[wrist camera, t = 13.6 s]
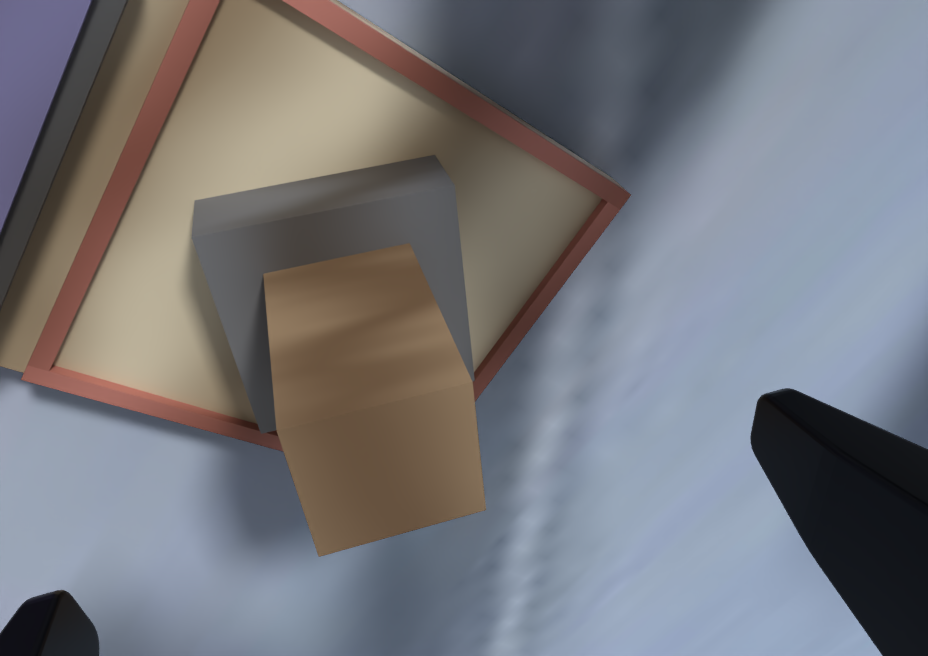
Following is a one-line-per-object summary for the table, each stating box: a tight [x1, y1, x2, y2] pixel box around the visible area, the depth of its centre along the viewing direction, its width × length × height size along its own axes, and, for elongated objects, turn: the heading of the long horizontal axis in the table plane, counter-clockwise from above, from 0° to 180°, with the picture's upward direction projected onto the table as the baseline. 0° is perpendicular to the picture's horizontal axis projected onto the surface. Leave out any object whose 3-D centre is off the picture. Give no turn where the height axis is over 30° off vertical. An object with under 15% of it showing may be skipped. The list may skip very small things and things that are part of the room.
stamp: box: [191, 155, 486, 557], centre depth 16 cm, size 6×6×8 cm
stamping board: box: [0, 0, 631, 452], centre depth 16 cm, size 24×12×2 cm, turn 57°
